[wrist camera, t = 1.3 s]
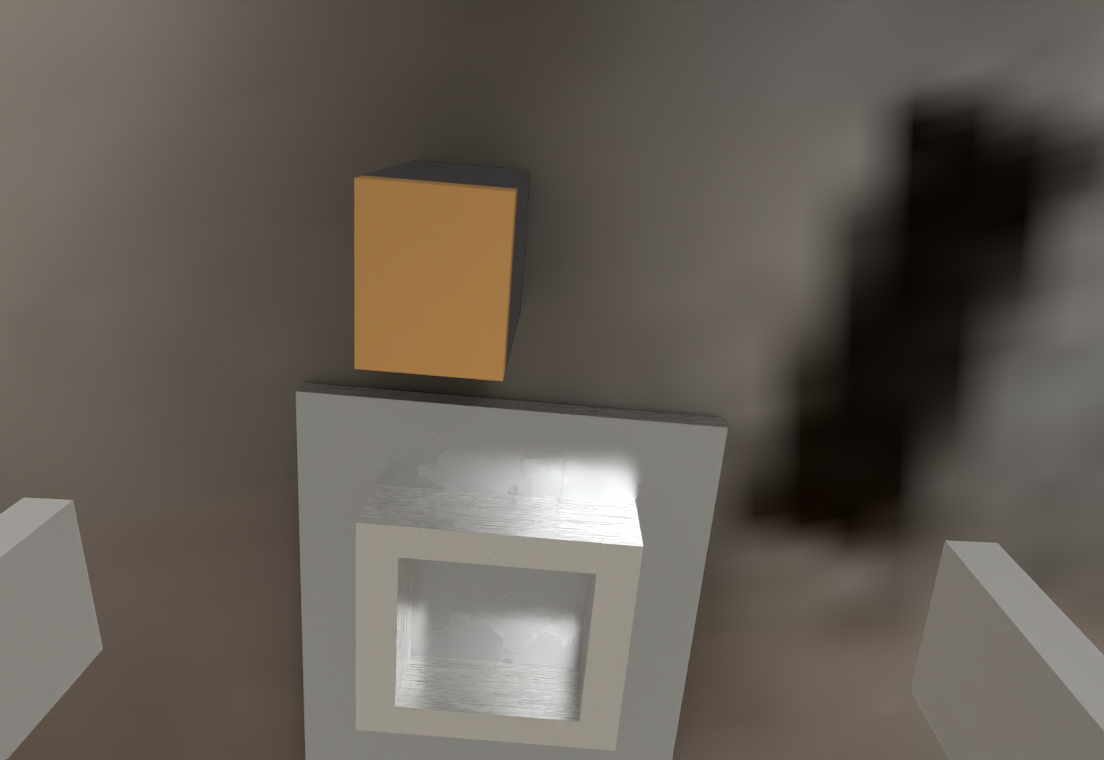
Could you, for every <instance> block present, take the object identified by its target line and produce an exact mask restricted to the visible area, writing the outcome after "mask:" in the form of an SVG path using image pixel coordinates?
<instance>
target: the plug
mask: <svg viewBox="0 0 1104 760" xmlns="http://www.w3.org/2000/svg"><path fill="white" fill-rule="evenodd" d="M529 183H530V170H522V169H510V168H498V167H487V166H475V165H464V164H452V163H440V162H429V161H417V160H414V161H411V162H408V163H404V164H401V165H397V166H394V167H390V168H387V169H383V170H380V171H376V172H373V173H369V174H366V175H362V176H359V177H356V178H354V332H355V369H362V370H374V371H386V372H398V373H410V374H422V375H433V376H445V377H457V378H469V379H481V380H493V381H503V379H504V375H505V371H506V367H507V363H508V359H509V355H510V351H511V347H512V343H513V339H514V335H515V331H516V327H517V323H518V318H519V314H520V310H521V296H522V282H523V268H524V254H525V239H526V225H527V211H528V197H529Z"/></svg>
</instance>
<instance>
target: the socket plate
mask: <svg viewBox="0 0 1104 760" xmlns="http://www.w3.org/2000/svg"><path fill="white" fill-rule="evenodd" d="M296 424H297V462H298V499H299V536H300V574H301V611H302V649H303V686H304V723H305V760H672V758H673V752H674V746H675V740H676V734H677V728H678V722H679V716H680V710H681V704H682V699H683V693H684V687H685V681H686V675H687V669H688V663H689V657H690V651H691V645H692V639H693V633H694V627H695V621H696V615H697V609H698V603H699V597H700V592H701V586H702V580H703V574H704V568H705V562H706V556H707V550H708V544H709V538H710V532H711V526H712V520H713V514H714V508H715V502H716V496H717V490H718V485H719V479H720V473H721V467H722V461H723V455H724V449H725V443H726V437H727V431H728V427H727V425H726V423H725V421H724V419H723V418H719V417H708V416H696V415H684V414H672V413H660V412H648V411H636V410H624V409H612V408H601V407H589V406H577V405H565V404H553V403H541V402H529V401H517V400H506V399H494V398H482V397H470V396H458V395H446V394H434V393H422V392H411V391H399V390H387V389H375V388H363V387H351V386H339V385H327V384H315V383H303V384H302V385H301V386H300V388H299V389H298V390H297V391H296Z"/></svg>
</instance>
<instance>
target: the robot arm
mask: <svg viewBox="0 0 1104 760" xmlns="http://www.w3.org/2000/svg"><path fill="white" fill-rule="evenodd" d="M102 650H103V647H102V642H101V637H100V632H99V627H98V622H97V617H96V612H95V607H94V602H93V597H92V592H91V587H90V582H89V577H88V572H87V567H86V562H85V557H84V552H83V547H82V542H81V537H80V532H79V527H78V522H77V517H76V512H75V507H74V502H73V500H63V499H42V498H22V499H21V500H19V501H18V502H17V503H15V504H14V505H12V506H11V507H10V508H8V509H7V510H5V511H4V512H3V513H1V514H0V760H7V759H8V758H9V757H10V755H11V754H12V753H13V752H14V751H15V750H16V748H17V747H18V746H19V745H20V744H21V743H22V742H23V740H24V739H25V738H26V737H27V736H28V735H29V734H30V732H31V731H32V730H33V729H34V728H35V727H36V725H37V724H38V723H39V722H40V721H41V720H42V719H43V717H44V716H45V715H46V714H47V713H48V712H49V710H50V709H51V708H52V707H53V706H54V705H55V704H56V702H57V701H58V700H59V699H60V698H61V697H62V696H63V694H64V693H65V692H66V691H67V690H68V689H69V687H70V686H71V685H72V684H73V683H74V682H75V681H76V679H77V678H78V677H79V676H80V675H81V674H82V673H83V671H84V670H85V669H86V668H87V667H88V666H89V664H90V663H91V662H92V661H93V660H94V659H95V658H96V656H97V655H98V654H99V653H100V652H101V651H102ZM910 691H911V693H912V695H913V696H914V698H915V700H916V702H917V704H918V705H919V707H920V709H921V711H922V712H923V714H924V716H925V718H926V720H927V721H928V723H929V725H930V727H931V728H932V730H933V732H934V734H935V736H936V737H937V739H938V741H939V743H940V745H941V746H942V748H943V750H944V752H945V753H946V755H947V757H948V759H949V760H1104V655H1103V654H1102V653H1101V652H1100V651H1099V650H1098V649H1097V648H1096V647H1095V646H1094V645H1093V644H1092V643H1091V642H1090V640H1089V639H1088V638H1087V637H1086V636H1085V635H1084V634H1083V633H1082V632H1081V631H1080V630H1079V629H1078V628H1077V627H1076V626H1075V625H1074V624H1073V622H1072V621H1071V620H1070V619H1069V618H1068V617H1067V616H1066V615H1065V614H1064V613H1063V612H1062V611H1061V610H1060V609H1059V608H1058V607H1057V606H1056V604H1055V603H1054V602H1053V601H1052V600H1051V599H1050V598H1049V597H1048V596H1047V595H1046V594H1045V593H1044V592H1043V591H1042V590H1041V589H1040V588H1039V586H1038V585H1037V584H1036V583H1035V582H1034V581H1033V580H1032V579H1031V578H1030V577H1029V576H1028V575H1027V574H1026V573H1025V572H1024V571H1023V570H1022V568H1021V567H1020V566H1019V565H1018V564H1017V563H1016V562H1015V561H1014V560H1013V559H1012V558H1011V557H1010V556H1009V555H1008V554H1007V553H1006V552H1005V551H1004V549H1003V548H1002V547H1001V546H1000V545H999V544H998V543H988V542H966V541H945V544H944V548H943V552H942V556H941V560H940V565H939V569H938V573H937V577H936V581H935V586H934V590H933V594H932V598H931V602H930V607H929V611H928V615H927V619H926V623H925V628H924V632H923V636H922V640H921V644H920V649H919V653H918V657H917V661H916V666H915V670H914V674H913V678H912V682H911V687H910Z"/></svg>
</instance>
